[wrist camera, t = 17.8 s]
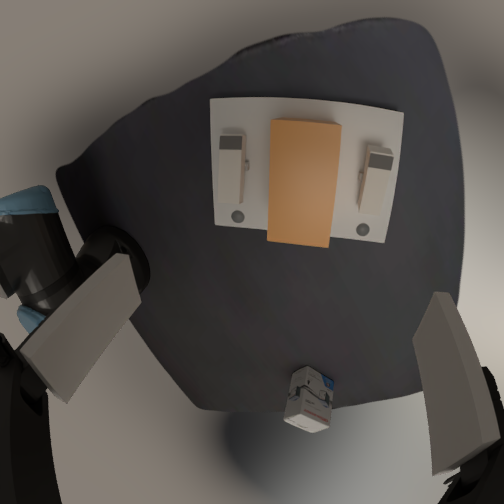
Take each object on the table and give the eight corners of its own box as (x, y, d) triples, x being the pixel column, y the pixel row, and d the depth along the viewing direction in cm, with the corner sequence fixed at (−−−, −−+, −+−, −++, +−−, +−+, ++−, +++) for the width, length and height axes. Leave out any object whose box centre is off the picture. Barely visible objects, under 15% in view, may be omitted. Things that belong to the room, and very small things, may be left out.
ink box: (334, 381, 53) (331, 427, 43) (318, 389, 56) (313, 433, 46) (307, 364, 52) (300, 413, 42) (290, 373, 54) (281, 420, 44)
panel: (220, 217, 40) (212, 228, 37) (216, 99, 31) (206, 98, 28) (380, 234, 35) (385, 246, 32) (397, 112, 27) (406, 113, 24)
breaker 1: (222, 200, 33) (217, 202, 31) (225, 136, 31) (219, 134, 29) (243, 202, 33) (238, 204, 31) (246, 136, 30) (242, 134, 29)
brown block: (277, 212, 35) (267, 240, 28) (281, 117, 29) (270, 119, 22) (326, 217, 34) (328, 247, 27) (335, 121, 28) (341, 125, 21)
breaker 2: (357, 204, 32) (358, 213, 30) (367, 144, 26) (370, 151, 25) (377, 207, 31) (379, 216, 30) (390, 148, 25) (394, 155, 24)
